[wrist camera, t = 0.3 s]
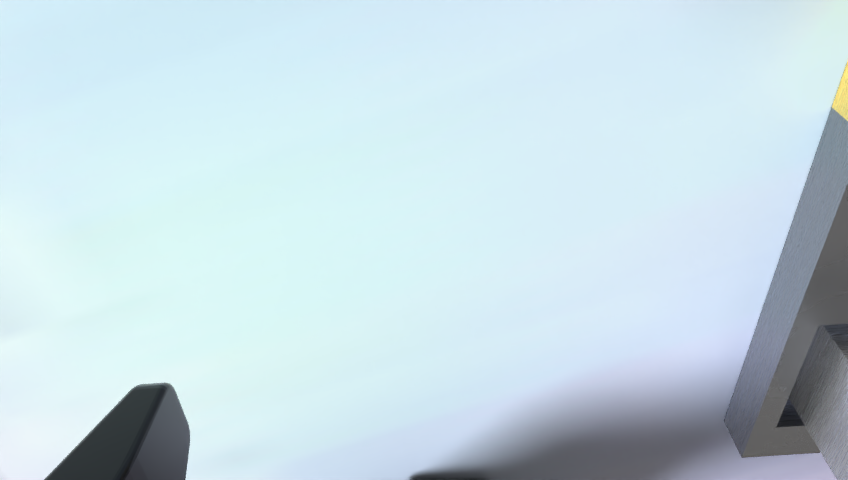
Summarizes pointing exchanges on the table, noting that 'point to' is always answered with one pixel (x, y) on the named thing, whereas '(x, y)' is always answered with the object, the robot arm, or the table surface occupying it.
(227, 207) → the table surface
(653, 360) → the table surface
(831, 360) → the grey rectangular block
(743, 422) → the rail
